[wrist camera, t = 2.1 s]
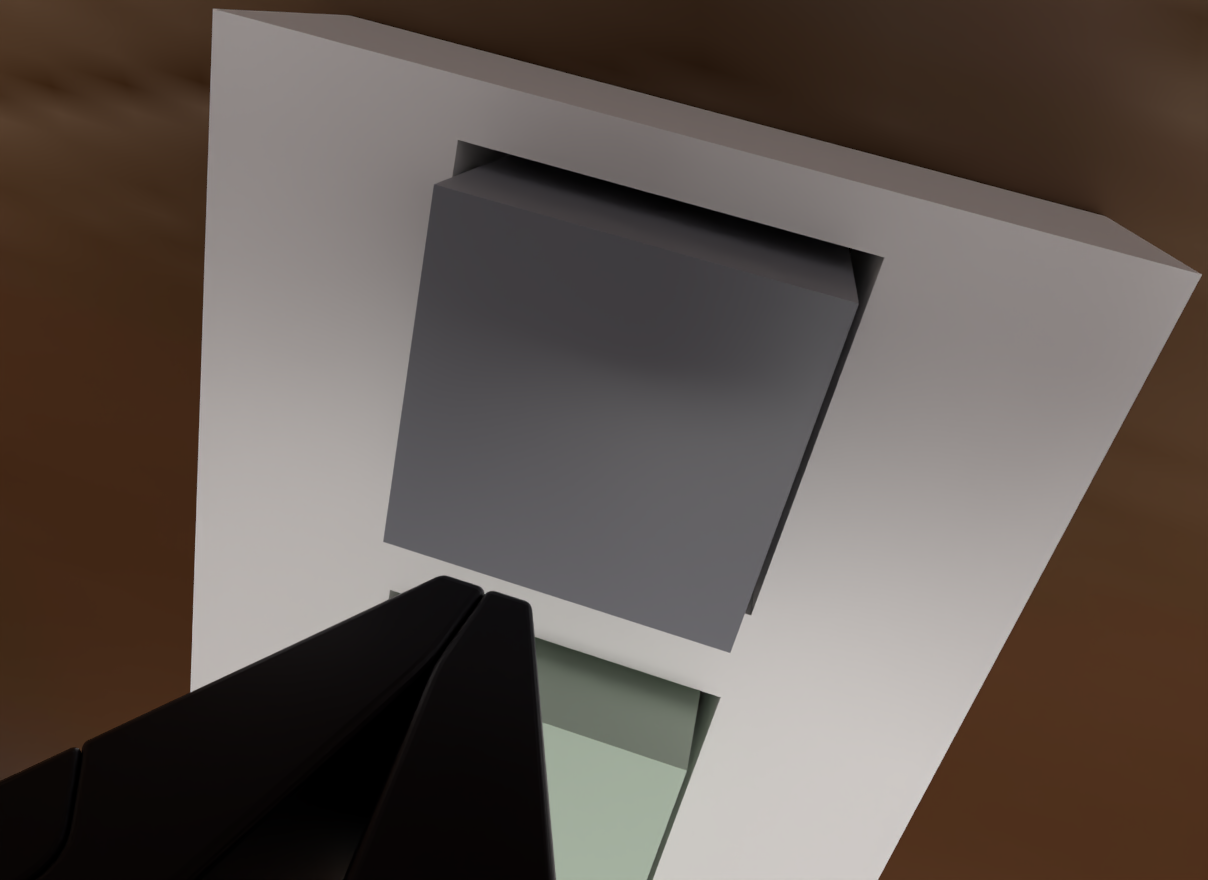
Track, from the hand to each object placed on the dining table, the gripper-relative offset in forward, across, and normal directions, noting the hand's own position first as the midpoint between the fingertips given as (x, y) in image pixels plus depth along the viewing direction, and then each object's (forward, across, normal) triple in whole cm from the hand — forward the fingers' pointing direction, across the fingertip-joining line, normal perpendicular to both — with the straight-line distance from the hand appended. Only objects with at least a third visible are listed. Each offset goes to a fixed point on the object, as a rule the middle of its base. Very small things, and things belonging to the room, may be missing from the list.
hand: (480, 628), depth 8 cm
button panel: (+10, 0, +7) cm, 12 cm away
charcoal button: (+8, 0, 0) cm, 8 cm away
